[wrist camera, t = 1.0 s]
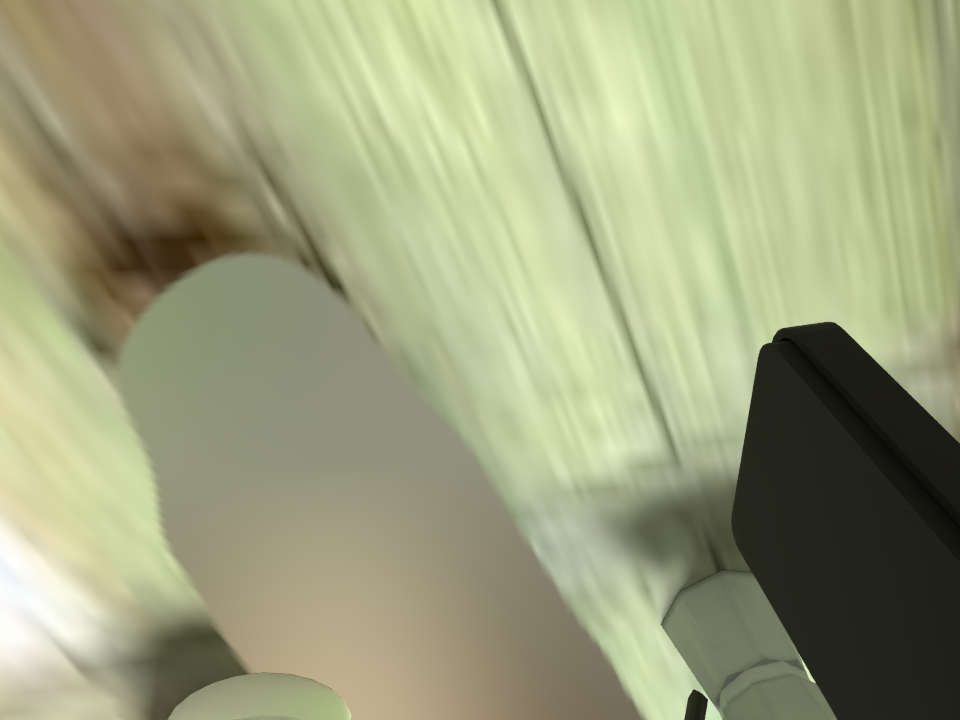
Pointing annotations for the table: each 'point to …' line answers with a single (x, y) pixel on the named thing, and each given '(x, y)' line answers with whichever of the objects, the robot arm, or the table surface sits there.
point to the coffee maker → (740, 653)
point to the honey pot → (263, 700)
